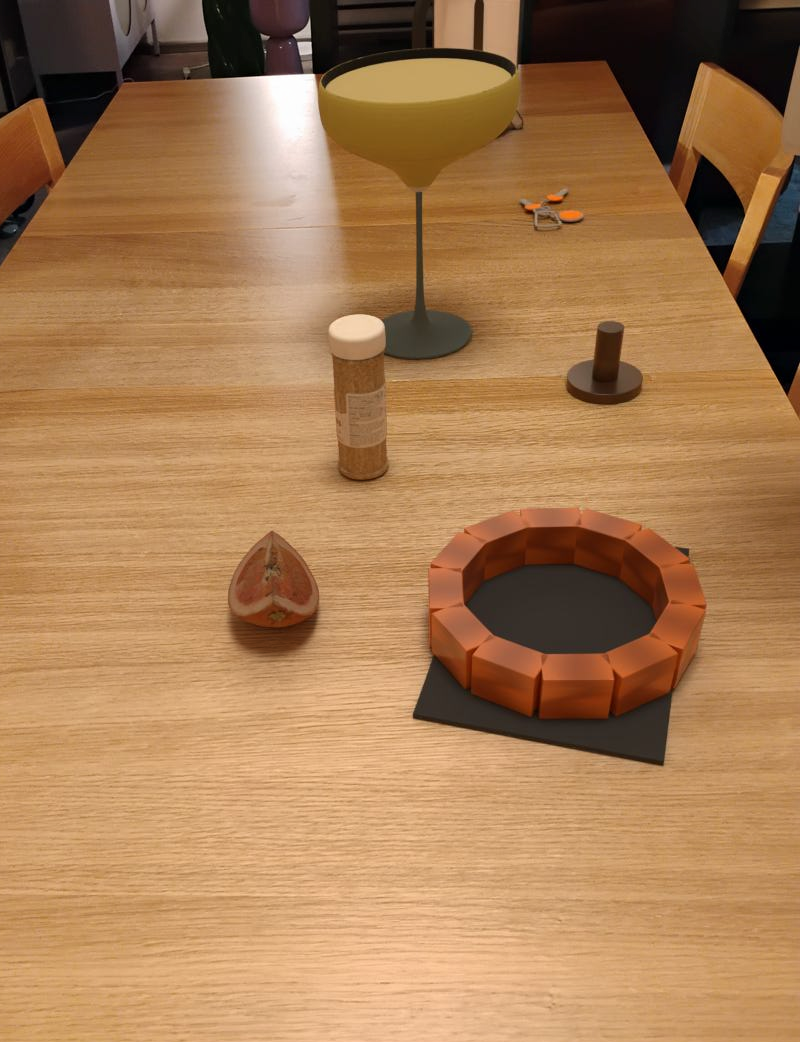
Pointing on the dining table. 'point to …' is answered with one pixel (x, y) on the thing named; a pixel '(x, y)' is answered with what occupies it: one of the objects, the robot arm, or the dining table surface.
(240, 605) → the fruit slice
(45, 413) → the dining table surface
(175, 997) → the dining table surface
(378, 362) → the sprinkles bottle
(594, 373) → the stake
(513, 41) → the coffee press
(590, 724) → the mat
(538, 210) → the key chain
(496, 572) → the ring
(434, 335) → the cocktail glass
